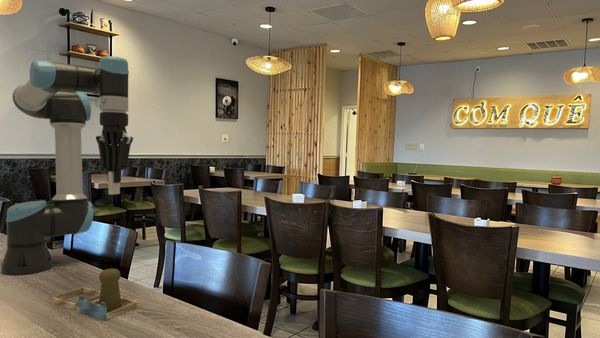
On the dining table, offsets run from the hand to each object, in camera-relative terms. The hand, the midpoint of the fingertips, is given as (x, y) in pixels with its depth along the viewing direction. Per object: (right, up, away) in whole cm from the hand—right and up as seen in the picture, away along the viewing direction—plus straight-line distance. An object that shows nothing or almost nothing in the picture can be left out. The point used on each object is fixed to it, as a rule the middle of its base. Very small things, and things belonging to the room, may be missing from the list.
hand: (114, 193), depth 123 cm
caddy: (-4, -31, -5) cm, 31 cm away
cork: (+2, -31, -8) cm, 32 cm away
